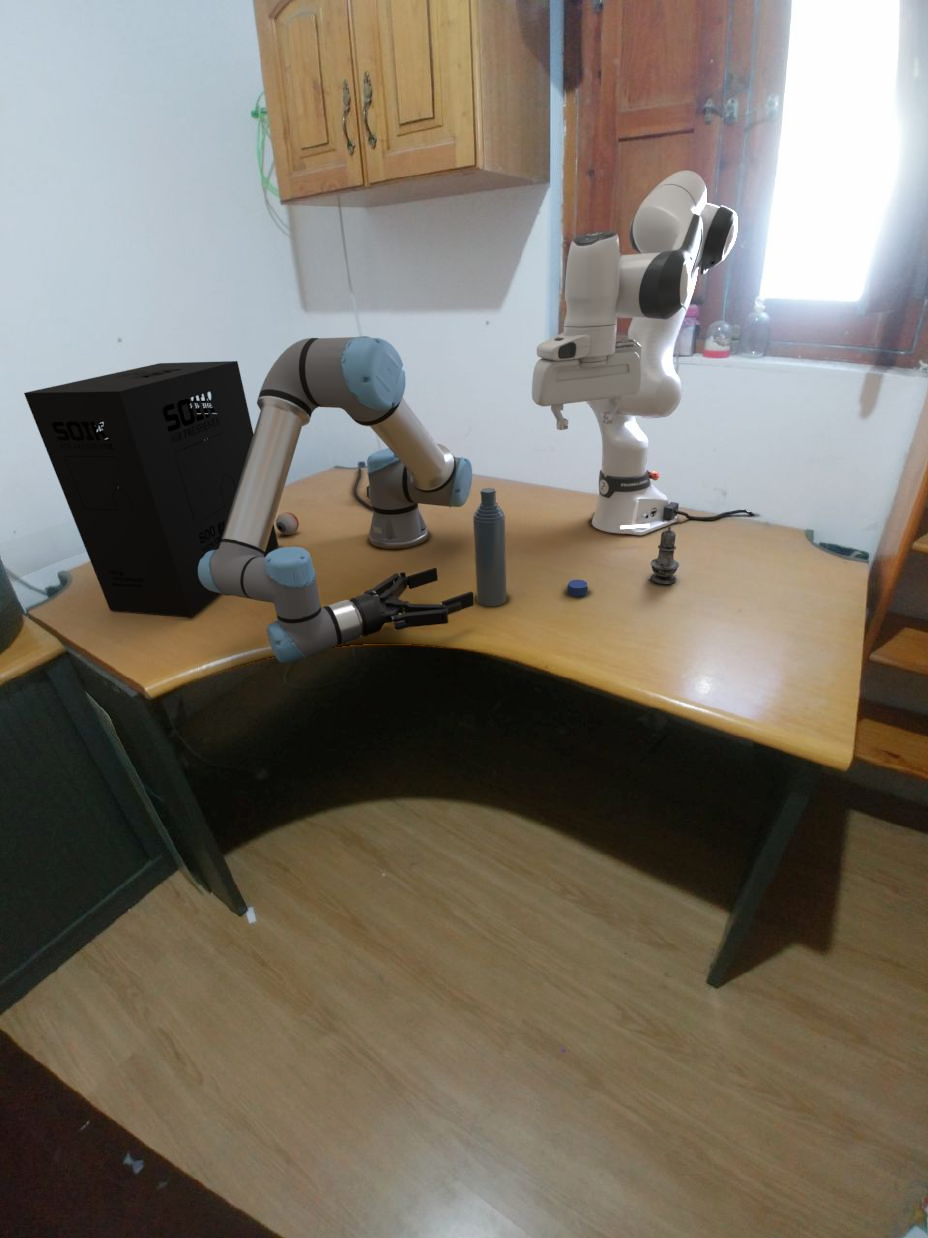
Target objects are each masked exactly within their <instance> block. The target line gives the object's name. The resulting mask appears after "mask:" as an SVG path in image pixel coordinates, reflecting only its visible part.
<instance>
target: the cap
mask: <svg viewBox="0 0 928 1238" xmlns="http://www.w3.org/2000/svg"><path fill="white" fill-rule="evenodd" d="M588 585H589V583H588V582H587V581H585V580H584V579H572V580H570V581H568V583H567V594H568V595H569V596H571V597H574V598H575V597H576V598H582V597H584V596H586V595H588V591H589V590H588V589H589V586H588Z"/></svg>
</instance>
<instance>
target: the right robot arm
mask: <svg viewBox="0 0 928 1238" xmlns="http://www.w3.org/2000/svg"><path fill="white" fill-rule="evenodd" d="M707 194H708V193H707V187H706V183H705V181H704V179H703V178H702V177H701V176H700V175H699V174H698V173H697V172H695V171H692V170H679V171H677V172H675V173H673V174H670V175H669V176H668V177H666V178H665V179H663V180H662V181H661V182H660V183H659V184H657V185H656V186H655V187H654V188H653V189H652V190H651V191H650V192H649V194H648V195H647V196H646V197H645V198H644V200H643V201H642V202H641V203H640V204H639V205H638V207H637V208H636V210H635V212H634V215H633V217H632V219H631V221H630V226H629V227H630V228H629V243H630V246H631V249H632V250H633V251H634V252H636V253H632V254H622V253H621V251H620V250H621V249H620V248H621V247H620V239H619V234H618V233H617V232H615V231H611V230H598V231H592V232H587V233H583V234H580V235H578V236H576V237H575V238H574V239H572V241H570V245H569V250H568V255H567V259H566V269H565V270H566V271H565V279H564V280H565V281H564V301H565V305H566V314H565V318H564V322H563V332H561V333H559V334H558V335H556V336H553V337H551V338H549V339H547V340H545V341H542V342H541V343H539V344H538V345H537V346H536V356H537V357H538V358H540V359H538V360H537V361H536V362H535V365H534V366H533V372H532V380H531V381H532V382H531V399H532V401H533V402H534V403H535V404H536V405H537V406H540V407H550V410H551V412H552V414H553V416H554V418H555V419H556V430H559V431H565V430H568V429H569V419H568V418H565V417H564V416H563V415H562V411H564V405H566V404H567V405H568V404H574V403H584V402H586V404H587V405H588V406H589V407H590V408H591V410H592V411H593V413H594V415H595V418H596V421H597V423H598V427H599V431H600V436H601V468H600V470H599V474H598V492H599V493H598V498H597V502H596V507H595V511H594V514H593V517H592V520H591V525H592V526H593V527H594V528H595V529H597V530H599V531H601V532H605V533H611V534H623V535H625V534H626V535H632V536H633V535H634V536H645V535H646V534H650V533H652V532H654V531H657V530H660V529H662V528H665V527H668V526H670V525H672V524H675V523H677V522H678V515H680V516H684V517H685V518H686V519H688V520H692V521H693V520H694V521H712V520H718V519H720V518H723V517H725V516H732V515H735V514H748V515H749V516H750V517H755V516H756V515H755V513H754V512H752V511H751V512H747V511H746V510H747V509H744V510H741V509H736V510H729V511H725V512H721V513H719V514H717V515H712V516H695V515H694V516H693V515H690V514H689V513H688V512H684V511H680V510H679V505H680V503H679V502H674V501H671V502H670V501H669V498H668V497H667V496H666V495H665V494H664V493H663V492H661V491H660V490H659V489H658V488H656V487H655V486H654V485H652V483H651V480H653V481H658V479H659V478H660V473H659V472H657V471H654V470H651V471H649V470H648V469H647V466H648V458H649V457H648V455H649V446H650V443H649V438H648V437H647V436H648V435H646V433H644V431H643V430H642V429H641V428H640V426H639V425H638V422H637V419H636V417H637V418H641V419H659V418H667V417H669V416H671V415H672V414H673V413H674V412H675V410H676V409H677V408H678V406H679V404H680V403H681V401H682V397H683V384H682V381H681V379H680V376H679V375H678V374H677V372H676V370H675V366H674V351H675V346H676V342H677V340H678V336H679V334H680V330H681V328H682V326H683V323H684V320H685V317H686V315H687V312H688V309H689V307H690V304H691V301H692V298H693V294H694V290H695V286H696V282H697V278H698V277H697V276H698V270H699V269H700V275H705V274H707V272H708V270H710V269H712V268H715V267H716V266H718V265H719V264H720V263H721V262H723V261H724V260H725V259H726V257H727V256H728V254H729V253H730V251H731V249H732V248H733V246H734V244H735V241H736V238H737V234H738V220H739V219H738V215H737V213H736V211H734V210H733V209H731V208H729V207H728V206H725V205H720V206H718V205H716V204H712V203H708V202H707V196H708V195H707ZM618 319H631V322H630V325H629V327H628V330H627V337H628V339H627V340H617V330H618V329H617V328H618Z"/></svg>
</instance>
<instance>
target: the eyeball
mask: <svg viewBox="0 0 928 1238" xmlns="http://www.w3.org/2000/svg"><path fill="white" fill-rule="evenodd" d="M299 525H300V522H299V519H298V517H297V516H296V515H295V514H294V513H292V512H287V511H286V512H282V513H280V514H279V515H278V516H277V517H276V518H275V527H276V529H277V530H278V531H279V532H280V533H281V534H282V535H285V536H286V535H287V536H289V535H293V534H295V533H296V532H297V531H298V529H299Z"/></svg>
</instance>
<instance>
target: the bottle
mask: <svg viewBox="0 0 928 1238" xmlns="http://www.w3.org/2000/svg"><path fill="white" fill-rule="evenodd" d="M472 523H473V541H474V564H475V565H474V566H475V567H474V568H475V587H476V601H477V603H478V604H479V605H481V606H484V607H489V608H492V607H498V606H501V605H504V604H505V603H506V601H507V599H508V598H507V546H506V540H507V538H506V515H505V512H504V511H503V509H502V508H501V506H500V505H499V503H498V502H497V490H496V488H494V487H484V488H481V489H480V503H479V506H478V507H477V508H476V510H475V512H474V513H473V517H472Z"/></svg>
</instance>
